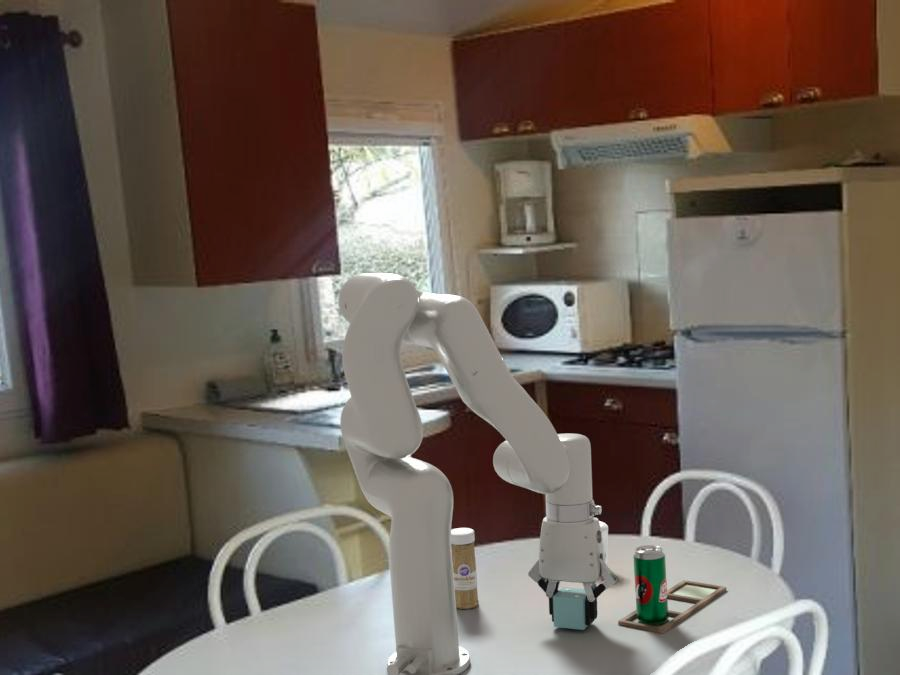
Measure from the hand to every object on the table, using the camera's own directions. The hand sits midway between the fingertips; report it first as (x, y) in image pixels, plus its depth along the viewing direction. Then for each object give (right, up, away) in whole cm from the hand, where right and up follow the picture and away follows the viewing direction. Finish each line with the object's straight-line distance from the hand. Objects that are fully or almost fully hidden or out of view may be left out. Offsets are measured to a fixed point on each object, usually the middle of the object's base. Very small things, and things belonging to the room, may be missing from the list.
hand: (573, 619), depth 181 cm
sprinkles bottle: (-17, -1, +14) cm, 22 cm away
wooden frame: (+18, +1, +6) cm, 19 cm away
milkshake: (+8, +2, +28) cm, 29 cm away
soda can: (+13, 0, 0) cm, 13 cm away
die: (0, -1, 0) cm, 1 cm away
